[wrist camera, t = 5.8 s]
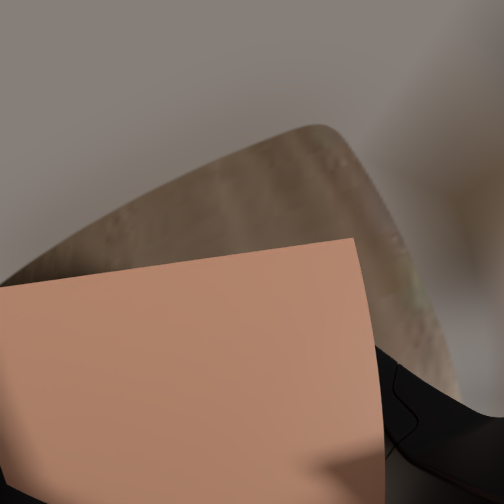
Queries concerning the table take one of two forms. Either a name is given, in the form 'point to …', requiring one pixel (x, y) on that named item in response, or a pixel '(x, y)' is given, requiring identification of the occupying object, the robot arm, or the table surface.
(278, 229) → the table surface
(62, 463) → the thick orange-brown block
